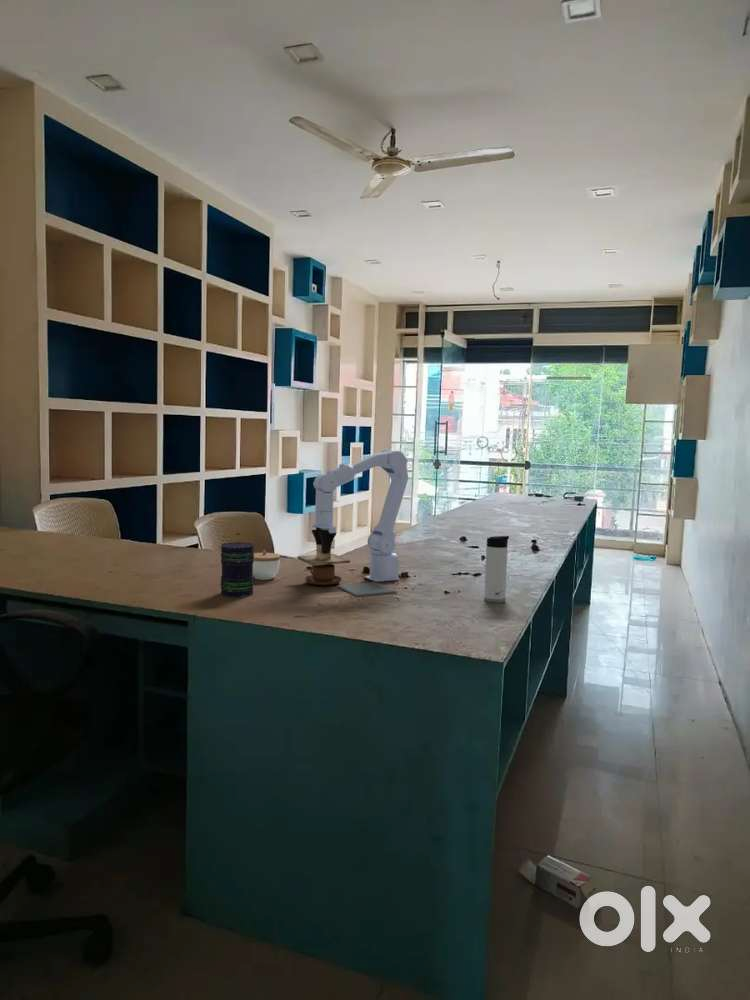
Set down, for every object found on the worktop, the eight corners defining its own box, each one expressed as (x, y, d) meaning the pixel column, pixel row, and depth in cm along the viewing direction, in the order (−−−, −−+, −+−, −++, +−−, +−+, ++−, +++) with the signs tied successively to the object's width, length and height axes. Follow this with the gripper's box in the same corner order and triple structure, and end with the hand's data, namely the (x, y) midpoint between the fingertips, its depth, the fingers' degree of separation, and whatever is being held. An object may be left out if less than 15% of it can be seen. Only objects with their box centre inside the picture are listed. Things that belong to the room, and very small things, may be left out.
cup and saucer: (298, 585, 222) (298, 566, 221) (314, 578, 233) (315, 560, 232) (332, 589, 218) (332, 570, 217) (347, 582, 229) (347, 564, 228)
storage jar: (253, 597, 203) (254, 537, 202) (219, 597, 202) (219, 537, 200) (253, 589, 213) (254, 532, 212) (221, 590, 212) (221, 532, 210)
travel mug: (501, 604, 203) (504, 537, 201) (480, 600, 207) (483, 535, 205) (509, 600, 208) (512, 535, 207) (489, 597, 212) (491, 533, 210)
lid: (333, 556, 233) (333, 541, 233) (350, 562, 222) (350, 546, 221) (297, 558, 227) (297, 543, 227) (313, 565, 216) (313, 549, 215)
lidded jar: (273, 582, 225) (274, 554, 224) (242, 580, 227) (243, 552, 226) (284, 575, 235) (284, 548, 235) (254, 573, 238) (255, 547, 237)
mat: (375, 583, 226) (375, 582, 226) (396, 592, 214) (396, 591, 214) (337, 587, 220) (337, 585, 220) (356, 596, 208) (356, 594, 208)
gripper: (304, 508, 227) (303, 549, 229) (321, 513, 215) (321, 556, 216) (323, 508, 231) (323, 548, 232) (342, 513, 218) (341, 555, 219)
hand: (323, 552), depth 224 cm, fingers closed on lid, 4 cm apart
